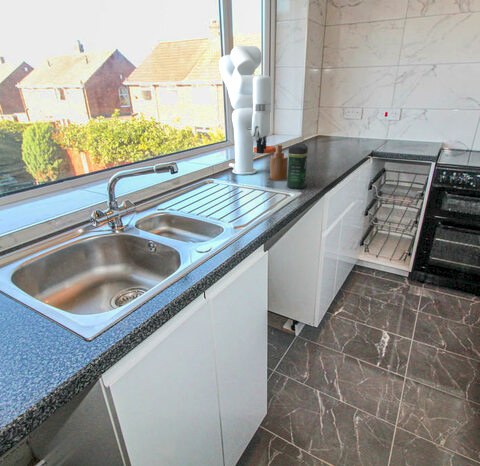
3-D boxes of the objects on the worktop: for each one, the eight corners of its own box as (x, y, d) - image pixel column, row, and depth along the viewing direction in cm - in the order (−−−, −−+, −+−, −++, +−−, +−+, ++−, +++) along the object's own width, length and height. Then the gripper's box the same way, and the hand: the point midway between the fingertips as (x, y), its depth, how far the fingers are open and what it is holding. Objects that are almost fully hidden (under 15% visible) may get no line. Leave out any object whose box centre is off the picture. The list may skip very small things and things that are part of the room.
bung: (250, 152, 146) (250, 148, 145) (259, 148, 154) (259, 145, 153) (270, 154, 142) (270, 150, 142) (278, 150, 151) (278, 146, 150)
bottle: (267, 179, 159) (267, 145, 153) (273, 175, 166) (274, 143, 160) (283, 181, 156) (284, 146, 149) (289, 177, 163) (290, 144, 156)
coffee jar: (302, 190, 142) (305, 146, 135) (285, 188, 145) (286, 145, 137) (307, 184, 150) (309, 142, 143) (290, 183, 153) (292, 142, 145)
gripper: (261, 106, 145) (260, 149, 153) (245, 109, 132) (246, 155, 140) (276, 107, 142) (275, 150, 150) (262, 110, 129) (262, 157, 137)
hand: (261, 152), depth 145 cm, fingers closed on bung, 2 cm apart
